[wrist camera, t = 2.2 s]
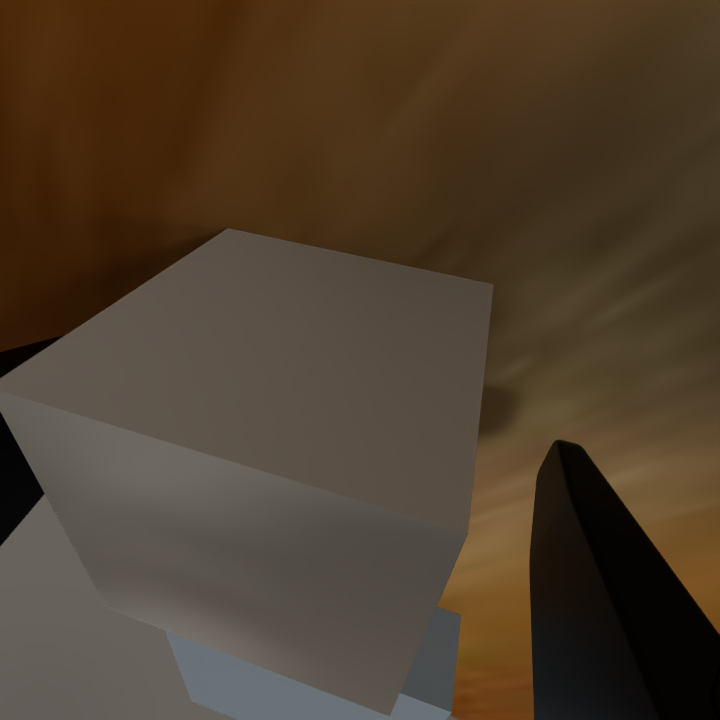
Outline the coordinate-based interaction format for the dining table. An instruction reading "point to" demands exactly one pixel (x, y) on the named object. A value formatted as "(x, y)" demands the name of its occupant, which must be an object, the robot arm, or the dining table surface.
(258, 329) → the cream cube
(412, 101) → the dining table surface
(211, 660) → the slate block
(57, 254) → the dining table surface
